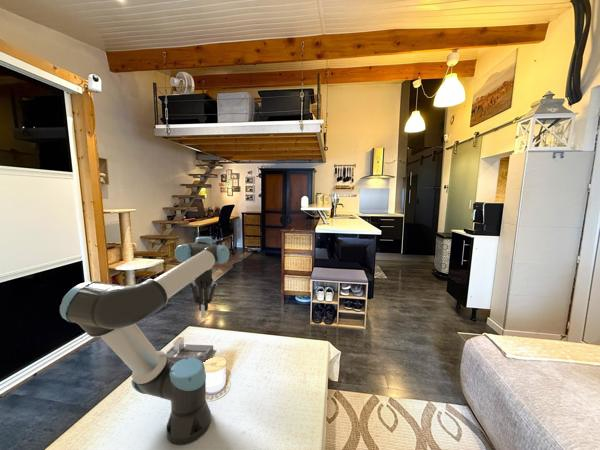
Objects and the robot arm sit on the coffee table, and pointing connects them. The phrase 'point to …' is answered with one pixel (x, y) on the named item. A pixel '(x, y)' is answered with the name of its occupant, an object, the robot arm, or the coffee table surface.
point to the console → (190, 352)
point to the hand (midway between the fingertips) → (203, 316)
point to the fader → (178, 344)
